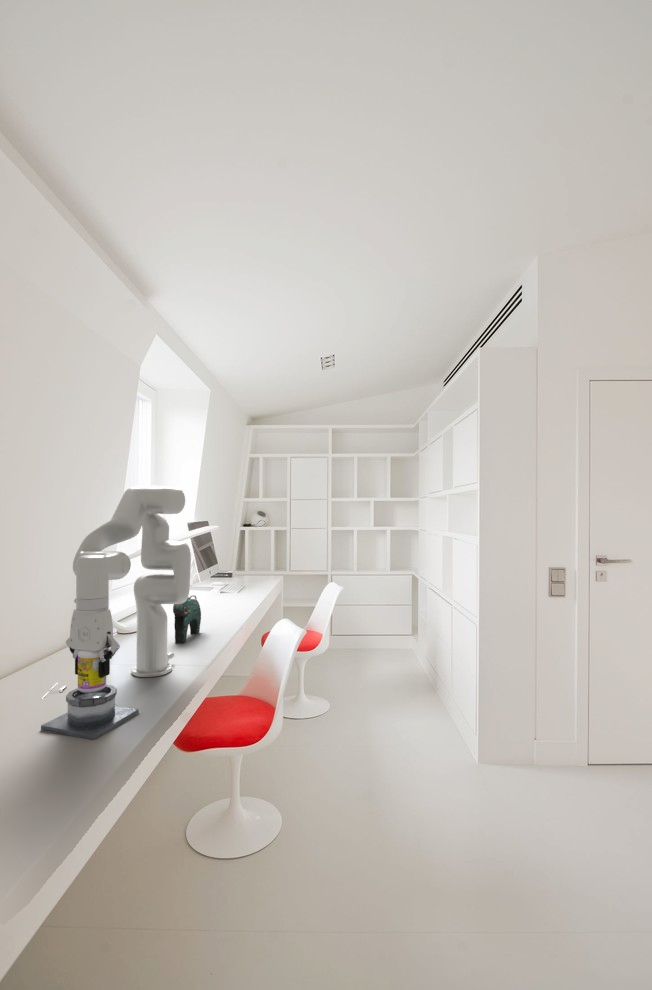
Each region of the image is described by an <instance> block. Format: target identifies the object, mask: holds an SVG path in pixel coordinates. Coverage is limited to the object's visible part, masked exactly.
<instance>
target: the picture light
mask: <svg viewBox="0 0 652 990" xmlns="http://www.w3.org/2000/svg"><path fill="white" fill-rule="evenodd" d="M55 687H57V688H58V691H59V693H60V694H61V692H62V693H63V691H64V689H66V688H67V687H68V686H67V685H62V687H61V686H60V685H59V682H56V683H55V684H53V685H52V686H51V687H50V688H49V689H48V690H47V692H45V694H44V695H43V696H42V697H41V698H42V700H44V699H45V698H46V697H47V696H48V695H49V694H48V693H51V691H53V689H55ZM47 694H48V695H47ZM46 695H47V696H46ZM45 696H46V697H45ZM44 697H45V698H44ZM43 698H44V699H43Z"/></svg>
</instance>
